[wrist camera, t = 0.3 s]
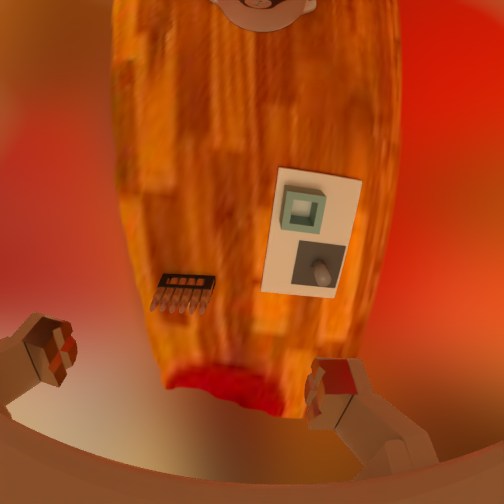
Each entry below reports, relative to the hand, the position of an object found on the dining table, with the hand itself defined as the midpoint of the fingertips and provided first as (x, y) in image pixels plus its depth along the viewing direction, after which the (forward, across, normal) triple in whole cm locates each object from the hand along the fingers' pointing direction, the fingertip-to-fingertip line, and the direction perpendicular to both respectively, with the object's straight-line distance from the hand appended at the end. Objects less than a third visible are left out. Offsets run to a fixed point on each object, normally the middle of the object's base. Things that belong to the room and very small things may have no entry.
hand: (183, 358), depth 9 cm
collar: (+45, -10, +6) cm, 46 cm away
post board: (+46, -14, +12) cm, 49 cm away
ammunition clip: (+46, +8, +24) cm, 53 cm away
